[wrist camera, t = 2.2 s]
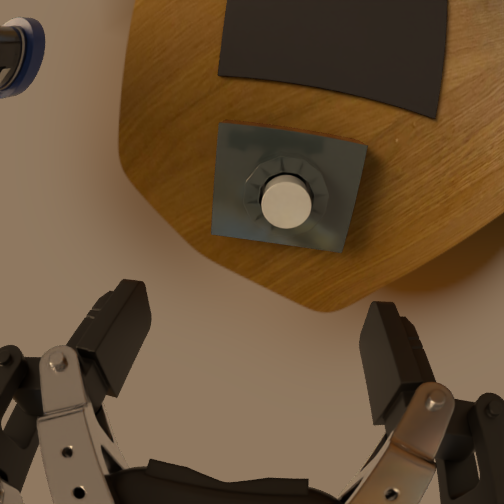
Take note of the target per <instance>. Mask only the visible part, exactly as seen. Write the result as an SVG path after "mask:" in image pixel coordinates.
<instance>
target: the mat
mask: <svg viewBox="0 0 504 504" xmlns="http://www.w3.org/2000/svg"><path fill="white" fill-rule="evenodd" d="M446 22H447V0H227V5H226V12H225V20H224V27H223V35H222V43H221V51H220V60H219V69H218V76H231V77H244V78H255V79H264V80H272V81H280V82H287V83H294V84H301V85H307V86H312V87H318V88H323V89H328V90H333V91H338V92H343V93H347V94H352V95H356V96H360V97H364V98H368V99H372V100H376V101H379V102H383V103H387V104H390V105H394V106H397V107H400V108H404V109H407V110H410V111H413V112H416V113H419V114H422V115H425V116H428V117H431V118H433V119H435V117H436V111H437V106H438V99H439V93H440V86H441V79H442V71H443V62H444V52H445V40H446Z"/></svg>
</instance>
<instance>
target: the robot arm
mask: <svg viewBox="0 0 504 504" xmlns="http://www.w3.org/2000/svg"><path fill="white" fill-rule="evenodd" d="M26 51H27V38H26V34H25V32H24V30H23V29H22V28H21V27H19V26H0V90H3V89H6V88H8V87H9V86H10V85H11V84H12V83H13V82H14V81H15V80H16V78H17V77H18V75H19V73H20V71H21V69H22V67H23V64H24V61H25V57H26ZM150 326H151V311H150V307H149V301H148V297H147V292H146V287H145V284H144V282H143V281H136V280H127V279H123V280H122V281H121V282H120V283H119V285H118V286H117V287H116V289H115V290H114V291H109V292H107V293H106V294H105V295H103V296H102V297H100V298H99V299H98V301H97V302H96V303H95V305H94V306H93V307H92V310H90V312H89V313H88V314H87V317H86V318H84V320H83V321H82V323H81V324H80V325H79V327H78V328H77V330H76V331H75V333H74V334H73V336H72V337H71V338H70V340H69V341H68V343H67V344H66V346H63V345H62V346H56V347H53V348H51V349H49V350H48V351H47V352H46V353H45V354H44V355H43V356H42V357H24V356H23V354H22V352H21V351H20V349H19V348H18V347H17V346H14V345H7V346H4V347H2V348H0V504H24V503H23V500H22V497H21V495H20V493H21V490H22V487H23V484H24V482H25V479H26V476H27V473H28V471H29V468H30V465H31V463H32V460H33V457H34V455H35V453H36V450H37V447H38V445H39V443H40V448H41V454H42V459H43V464H44V468H45V473H46V477H47V481H48V485H49V489H50V493H51V497H52V500H53V503H54V504H419V502H420V501H421V499H422V497H423V495H424V493H425V491H426V489H427V488H428V485H429V484H430V482H431V480H432V478H433V475H434V473H435V471H436V468H437V474H438V482H439V491H440V500H441V504H504V400H503V399H502V398H501V397H500V396H498V395H496V394H494V393H485V394H483V395H481V396H480V397H479V399H478V400H477V401H476V402H469V401H463V400H458V399H454V397H453V395H452V393H451V391H450V390H449V389H448V388H446V387H445V386H444V385H442V384H440V383H437V382H436V380H435V378H434V375H433V372H432V369H431V367H430V364H429V361H428V359H427V356H426V354H425V351H424V349H423V346H422V343H421V341H420V340H419V336H418V334H417V332H416V329H415V327H414V325H413V324H412V323H411V322H410V321H409V320H408V319H407V318H406V317H400V316H399V313H398V311H397V308H396V306H395V304H394V303H393V302H379V301H373V302H372V303H371V305H370V308H369V311H368V314H367V317H366V320H365V323H364V325H363V328H362V331H361V334H360V341H359V348H360V354H361V358H362V364H363V368H364V374H365V379H366V384H367V389H368V395H369V401H370V406H371V412H372V419H373V425H385V429H386V432H385V433H384V435H383V436H382V438H381V439H380V441H379V442H378V444H377V445H376V447H375V448H374V450H373V451H372V453H371V454H370V456H369V457H368V459H367V460H366V462H365V463H364V464H363V466H362V467H361V469H360V470H359V471H358V473H357V474H356V475H355V477H354V478H353V479H352V480H351V482H349V484H348V485H347V486H346V487H345V488H344V490H343V491H342V492H341V493H340V494H339V495H338V497H337V498H335V497H333V496H332V495H330V494H328V493H326V492H323V491H321V490H318V489H315V488H311V487H308V479H288V478H263V479H256V480H248V481H239V482H230V483H229V482H222V481H219V480H217V479H214V478H212V477H209V476H206V475H204V474H202V473H199V472H197V471H195V470H192V469H190V468H188V467H184V466H179V465H175V464H170V463H166V462H161V461H157V460H153V459H150V460H149V463H148V466H147V467H144V466H143V467H134V468H129V466H128V464H127V462H126V460H125V458H124V457H123V455H122V453H121V451H120V449H119V447H118V444H117V442H116V439H115V436H114V433H113V431H112V427H111V424H110V421H109V418H108V415H107V412H106V409H105V405H104V403H103V400H104V398H105V395H109V396H112V397H116V398H117V397H118V395H119V393H120V391H121V388H122V386H123V384H124V382H125V380H126V377H127V375H128V373H129V371H130V369H131V367H132V364H133V362H134V360H135V358H136V356H137V354H138V352H139V350H140V348H141V346H142V344H143V341H144V339H145V338H146V336H147V334H148V332H149V329H150ZM12 398H13V399H14V400H15V402H17V404H16V406H15V408H14V410H13V412H12V414H11V416H10V418H9V420H8V422H7V424H6V426H5V428H4V430H2V427H1V420H2V417H3V415H4V413H5V411H6V410H7V408H8V406H9V404H10V402H11V400H12ZM475 451H476V456H477V461H478V466H479V471H480V480H479V477H478V471H477V466H476V461H475V456H474V452H475ZM434 459H435V460H436V463H435V462H434Z"/></svg>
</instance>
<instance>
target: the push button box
mask: <svg viewBox="0 0 504 504" xmlns="http://www.w3.org/2000/svg"><path fill="white" fill-rule="evenodd" d="M367 147H368V146H367V145H366V144H364V143H363V142H361V141H359V140H356V139H352V138H347V137H342V136H337V135H332V134H327V133H322V132H316V131H310V130H305V129H298V128H292V127H285V126H278V125H271V124H263V123H255V122H246V121H236V120H224V121H222V122H219V127H218V139H217V151H216V164H215V177H214V192H213V207H212V224H211V234H212V235H219V236H226V237H234V238H241V239H248V240H255V241H262V242H269V243H276V244H284V245H290V246H297V247H304V248H311V249H318V250H325V251H332V252H338V253H342V251H343V247H344V244H345V240H346V236H347V232H348V229H349V225H350V221H351V217H352V213H353V209H354V205H355V201H356V197H357V193H358V188H359V184H360V180H361V175H362V171H363V166H364V161H365V157H366V152H367ZM280 175H292V176H295V177H297V178H299V179H300V180H302V181H303V182H304V183H305V185H306V186H307V188H308V191H309V195H310V199H311V212H310V214H309V216H308V218H307V219H306V220H305V221H304V222H303V223H302V224H301V225H299V226H297V227H294V228H288V229H285V228H279V227H276V226H274V225H273V224H271V223H270V222H269V221H268V220H267V219H266V218H265V216H264V214H263V212H262V206H261V204H262V197H263V192H264V189H265V187H266V185H267V184H268V182H269V181H271V180H272V179H273V178H275V177H277V176H280Z"/></svg>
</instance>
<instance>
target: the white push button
mask: <svg viewBox="0 0 504 504" xmlns="http://www.w3.org/2000/svg"><path fill="white" fill-rule="evenodd" d="M261 206H262V212H263V214H264V216H265V218H266V219H267V220H268V221H269V222H270V223H271V224H273V225H274V226H276V227H279V228H285V229H288V228H294V227H297V226H299V225H301V224H302V223H303V222H304V221H305V220H306V219H307V218H308V216H309V214H310V212H311V199H310V195H309V191H308V188H307V186H306V185H305V183H304V182H303V181H302V180H300V179H299V178H297V177H295V176H292V175H280V176H277V177H275V178H273V179H272V180H271V181H269V182H268V184H267V185H266V187H265V189H264V192H263V197H262V204H261Z"/></svg>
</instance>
